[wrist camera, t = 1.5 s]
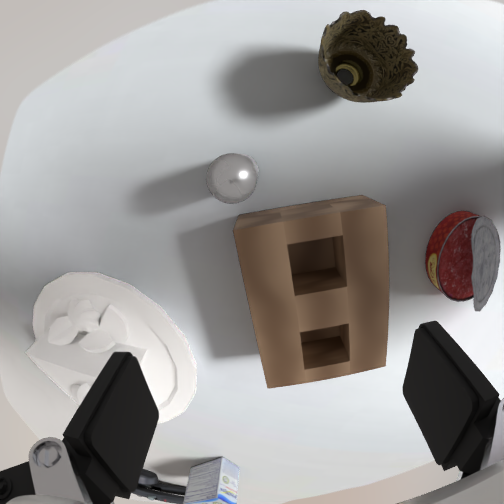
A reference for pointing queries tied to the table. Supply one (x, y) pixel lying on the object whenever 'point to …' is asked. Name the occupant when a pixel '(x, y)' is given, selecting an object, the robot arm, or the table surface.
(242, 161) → the pin
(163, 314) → the dish
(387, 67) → the cup
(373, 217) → the hole block
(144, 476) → the can opener
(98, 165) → the table surface
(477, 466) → the robot arm
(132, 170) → the table surface
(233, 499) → the medicine box
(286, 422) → the table surface
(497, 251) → the canned food
